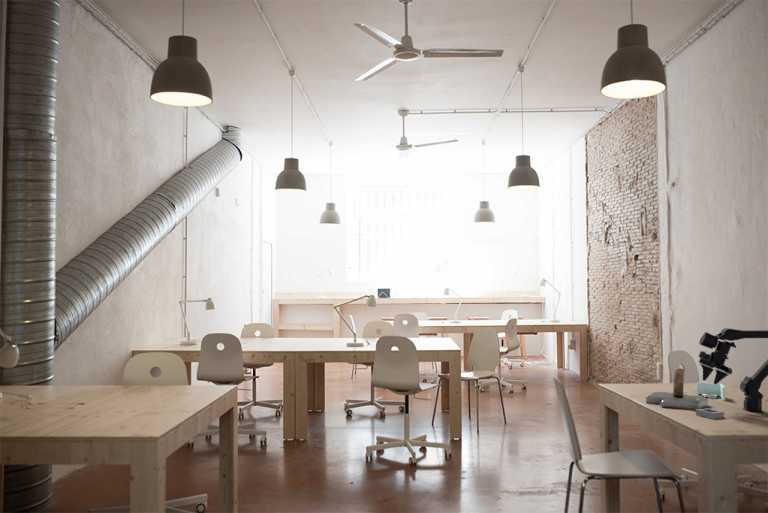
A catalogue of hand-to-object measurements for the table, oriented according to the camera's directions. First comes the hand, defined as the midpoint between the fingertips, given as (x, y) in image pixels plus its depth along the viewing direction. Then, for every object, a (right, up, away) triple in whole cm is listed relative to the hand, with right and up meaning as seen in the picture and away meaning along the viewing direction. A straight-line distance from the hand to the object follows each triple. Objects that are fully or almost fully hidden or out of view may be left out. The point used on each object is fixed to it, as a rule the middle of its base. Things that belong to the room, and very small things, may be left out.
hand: (709, 382), depth 288 cm
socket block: (-11, -11, -20) cm, 26 cm away
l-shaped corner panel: (+15, -15, +26) cm, 34 cm away
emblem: (-13, -13, +6) cm, 19 cm away
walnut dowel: (-13, -7, +5) cm, 16 cm away
